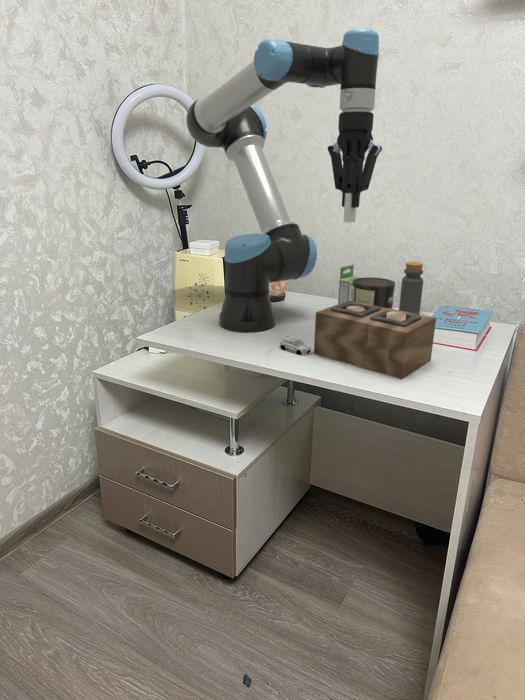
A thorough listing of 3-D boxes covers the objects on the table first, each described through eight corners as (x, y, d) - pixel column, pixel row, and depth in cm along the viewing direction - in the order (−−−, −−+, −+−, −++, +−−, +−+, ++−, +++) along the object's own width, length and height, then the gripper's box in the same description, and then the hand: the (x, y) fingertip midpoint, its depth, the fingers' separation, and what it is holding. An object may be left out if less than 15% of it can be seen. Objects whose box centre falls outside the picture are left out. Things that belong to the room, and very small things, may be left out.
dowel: (379, 353, 115) (383, 314, 112) (388, 349, 118) (392, 310, 115) (396, 358, 113) (400, 317, 110) (404, 353, 116) (409, 313, 113)
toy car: (304, 357, 120) (304, 345, 119) (277, 349, 125) (278, 337, 124) (314, 353, 122) (314, 341, 121) (287, 345, 127) (288, 333, 126)
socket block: (313, 353, 121) (315, 309, 118) (346, 339, 131) (349, 297, 128) (401, 379, 108) (407, 329, 104) (430, 360, 118) (436, 315, 114)
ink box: (348, 315, 151) (351, 269, 146) (336, 313, 154) (339, 267, 149) (361, 311, 156) (365, 266, 151) (350, 308, 158) (353, 264, 154)
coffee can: (389, 331, 138) (394, 278, 133) (390, 344, 128) (396, 287, 123) (349, 328, 140) (353, 276, 135) (347, 340, 130) (351, 285, 125)
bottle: (394, 314, 153) (399, 262, 147) (406, 311, 156) (411, 260, 151) (411, 319, 148) (417, 266, 143) (423, 315, 152) (429, 263, 147)
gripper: (322, 111, 117) (317, 220, 125) (374, 109, 109) (365, 225, 117) (340, 114, 122) (334, 218, 130) (391, 111, 114) (382, 222, 122)
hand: (349, 221), depth 123 cm, fingers closed
